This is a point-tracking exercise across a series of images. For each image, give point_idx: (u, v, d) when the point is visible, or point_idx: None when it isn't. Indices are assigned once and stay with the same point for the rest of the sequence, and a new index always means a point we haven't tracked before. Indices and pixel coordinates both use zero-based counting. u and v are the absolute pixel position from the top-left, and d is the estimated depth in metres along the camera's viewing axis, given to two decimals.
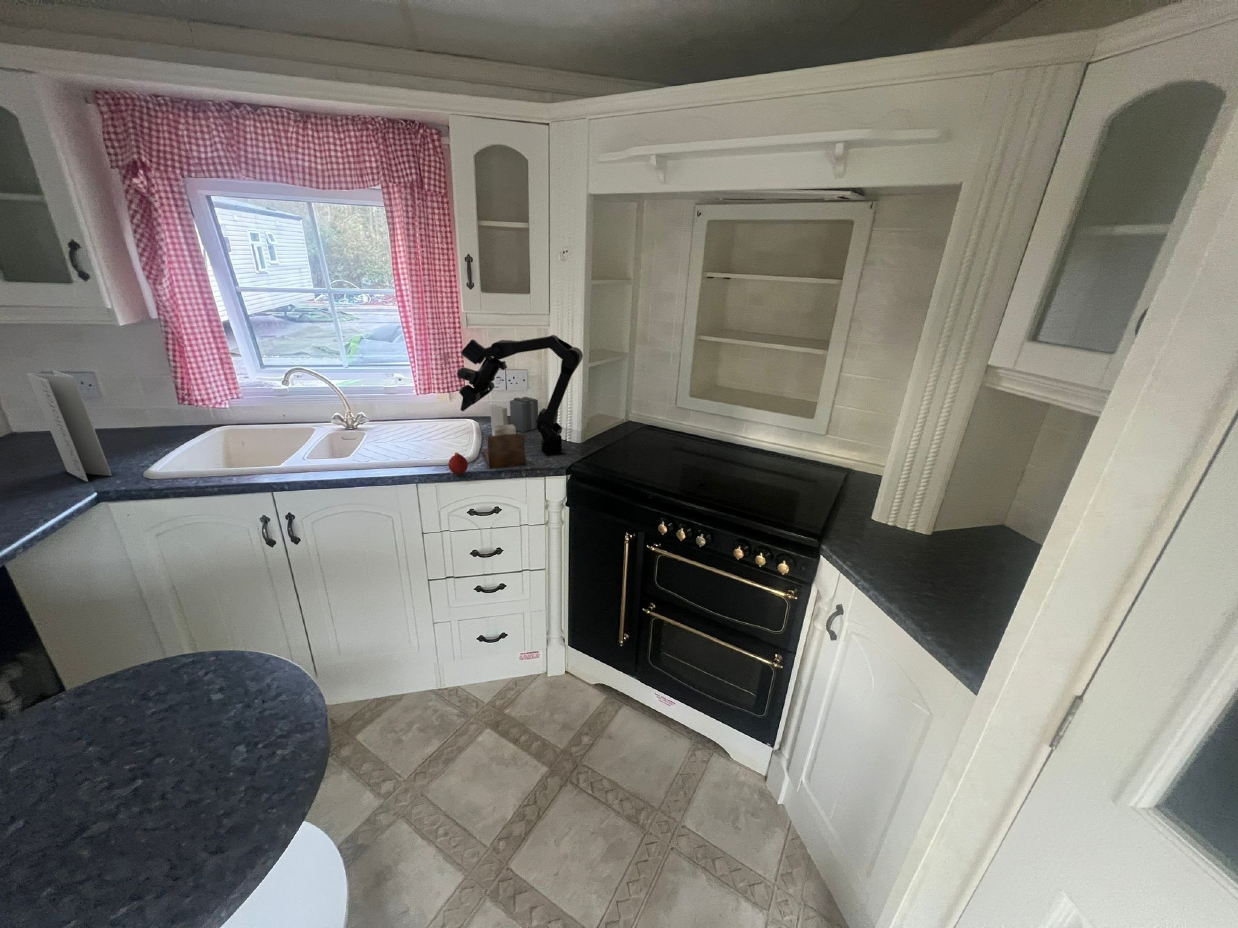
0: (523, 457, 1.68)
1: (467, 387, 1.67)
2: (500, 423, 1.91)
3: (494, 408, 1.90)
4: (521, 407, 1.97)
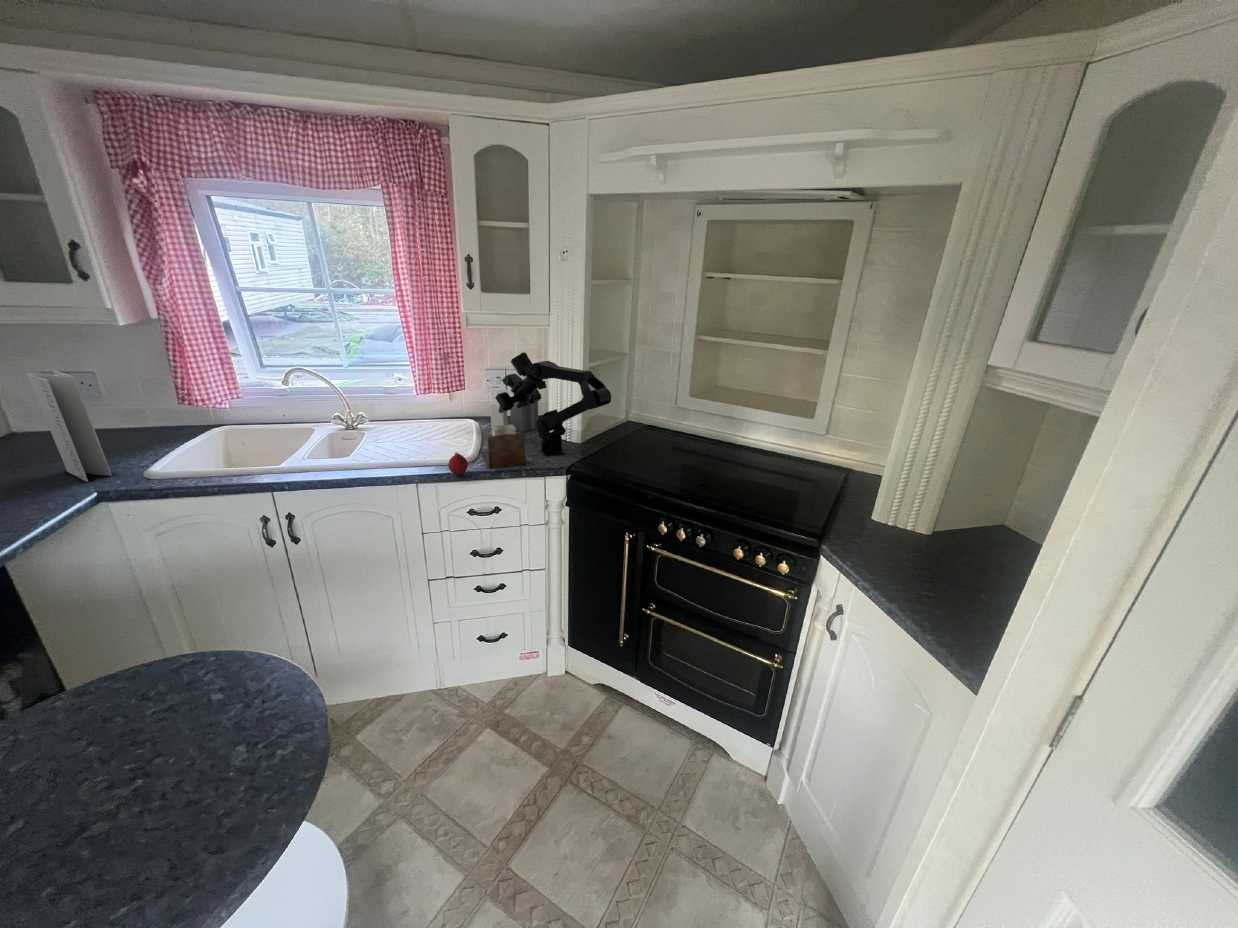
0: (523, 457, 1.68)
1: (503, 395, 1.75)
2: (500, 423, 1.91)
3: (494, 408, 1.90)
4: (521, 407, 1.97)
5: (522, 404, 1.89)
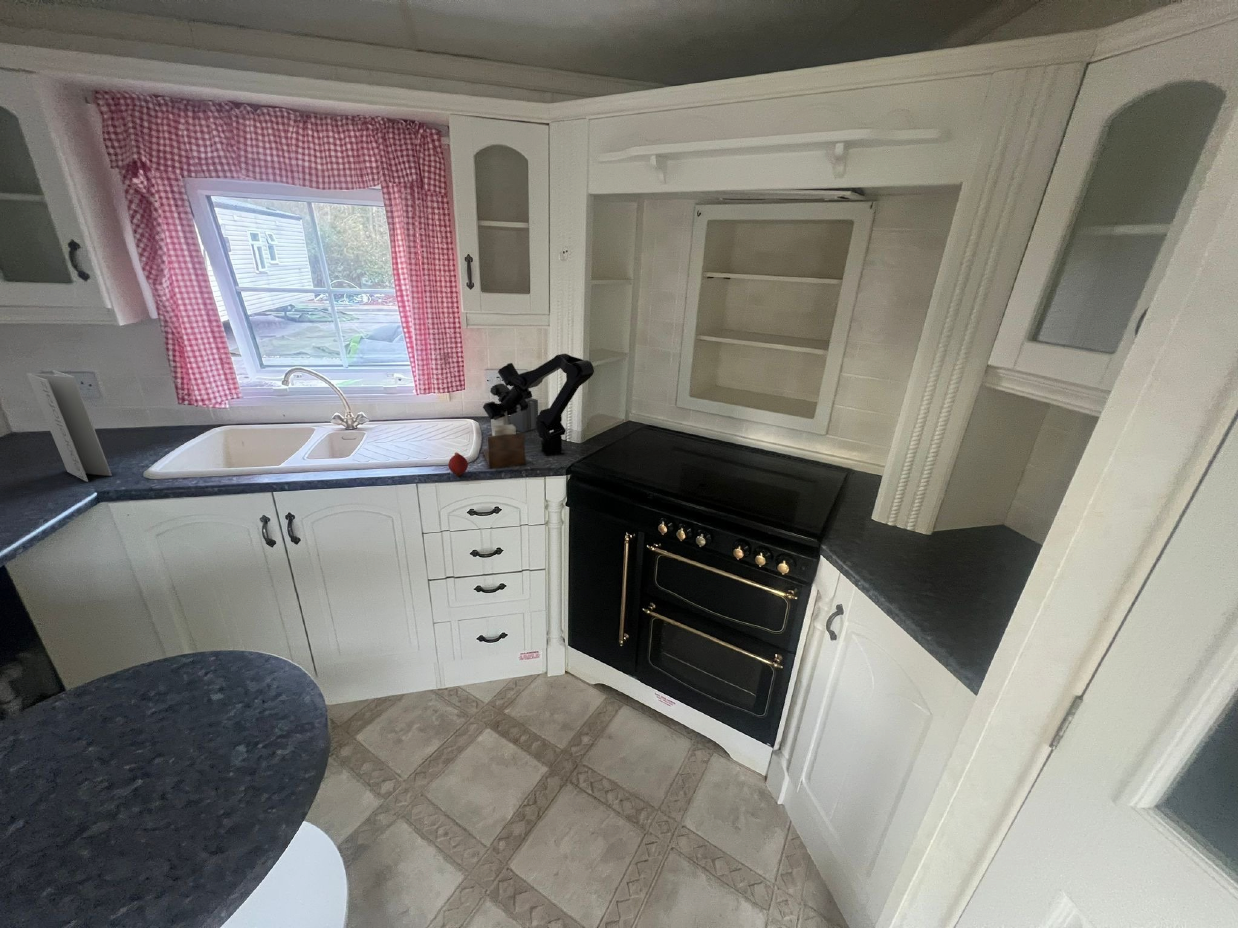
0: (523, 457, 1.68)
1: (490, 404, 1.81)
2: (500, 423, 1.91)
3: None
4: None
5: None
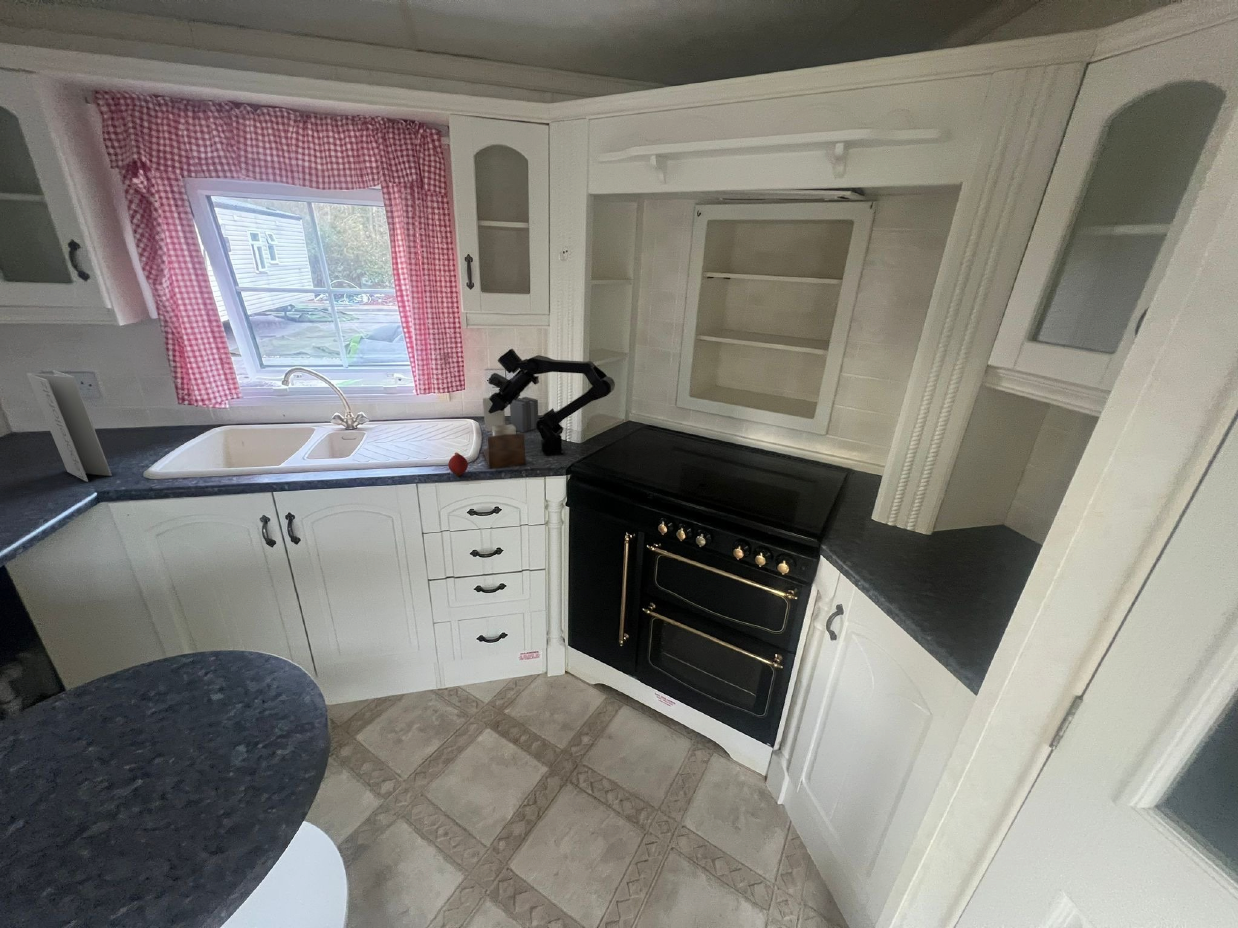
0: (523, 457, 1.68)
1: (498, 395, 1.68)
2: (498, 416, 1.78)
3: (489, 401, 1.76)
4: (521, 407, 1.97)
5: None
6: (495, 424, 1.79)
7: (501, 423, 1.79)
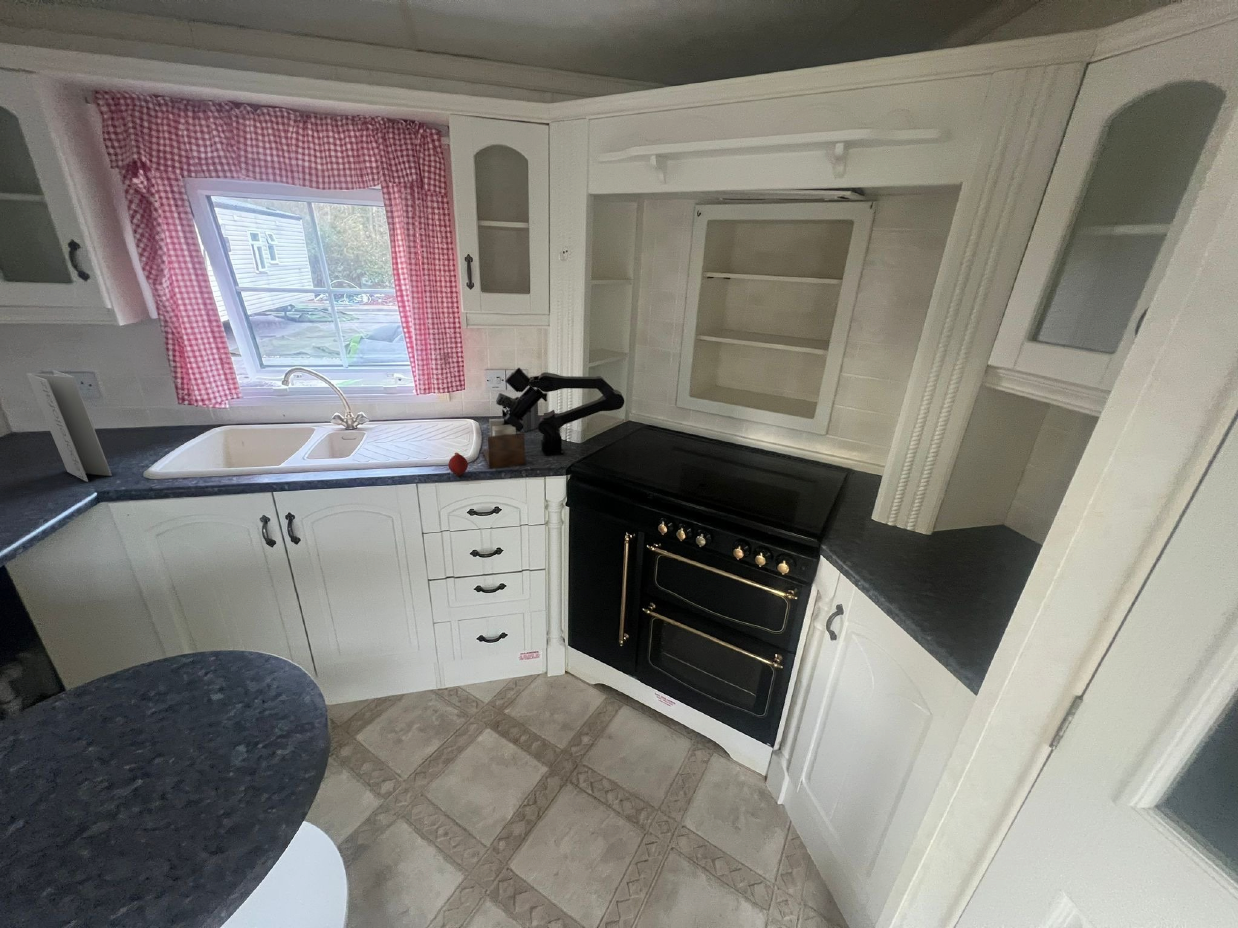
0: (523, 457, 1.68)
1: (514, 416, 1.65)
2: None
3: (496, 422, 1.71)
4: None
5: None
6: None
7: None
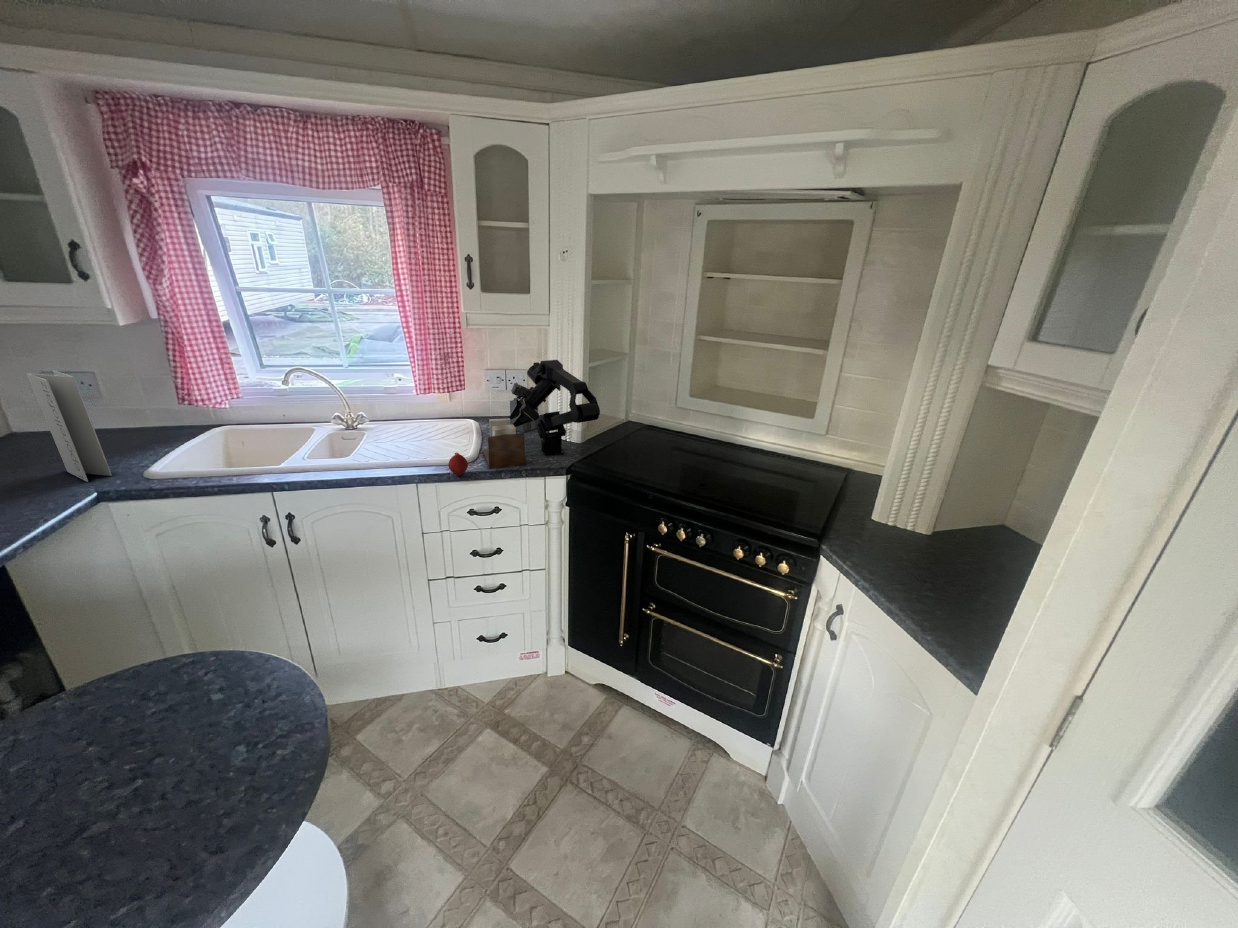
0: (523, 457, 1.68)
1: (530, 405, 1.67)
2: None
3: (496, 422, 1.71)
4: None
5: (517, 414, 1.80)
6: None
7: None
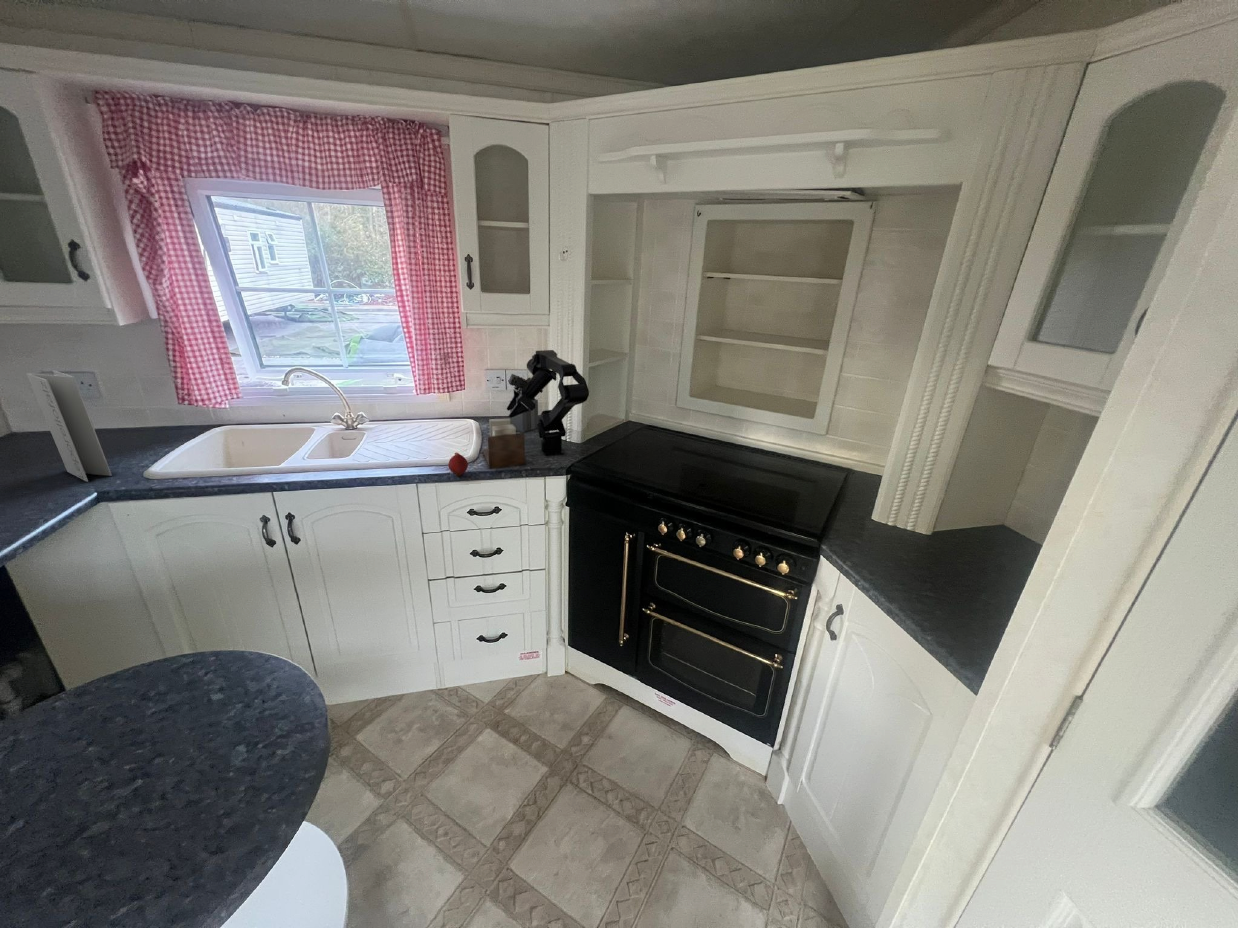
0: (523, 457, 1.68)
1: (527, 395, 1.69)
2: None
3: (496, 422, 1.71)
4: None
5: (514, 405, 1.82)
6: None
7: None
